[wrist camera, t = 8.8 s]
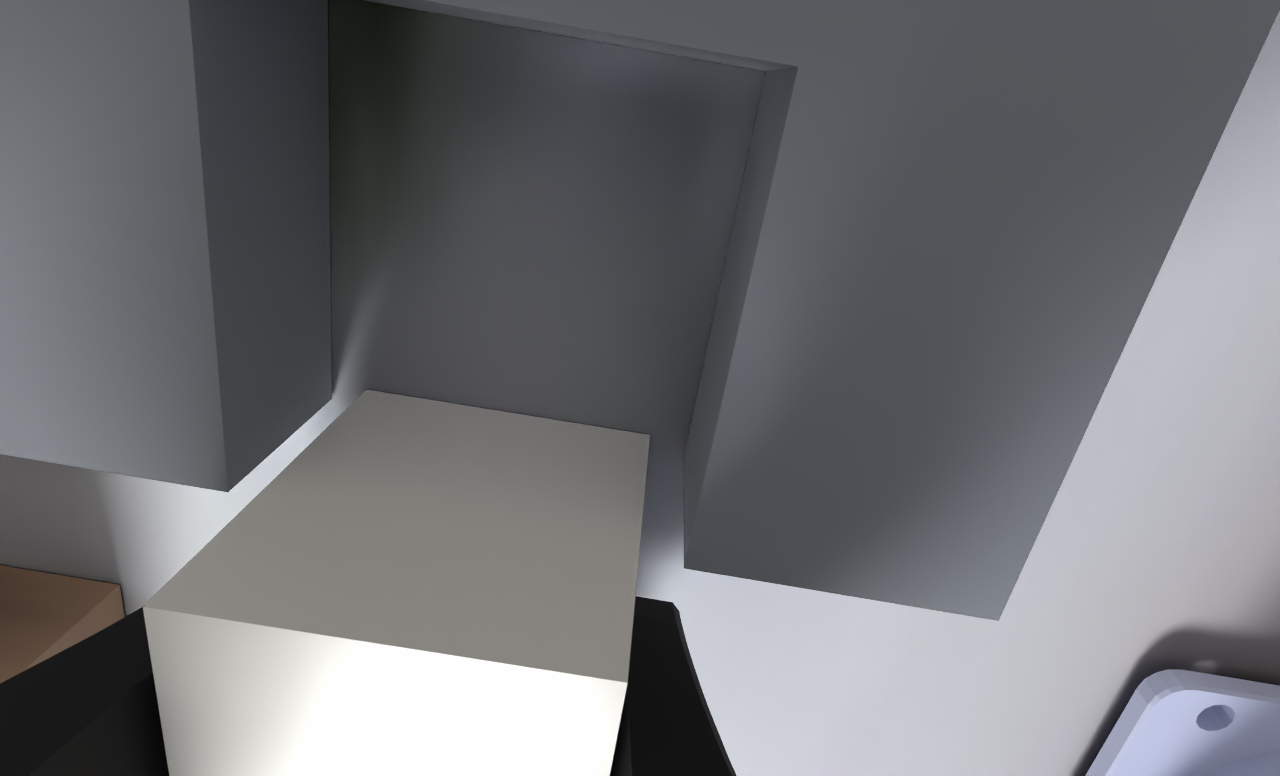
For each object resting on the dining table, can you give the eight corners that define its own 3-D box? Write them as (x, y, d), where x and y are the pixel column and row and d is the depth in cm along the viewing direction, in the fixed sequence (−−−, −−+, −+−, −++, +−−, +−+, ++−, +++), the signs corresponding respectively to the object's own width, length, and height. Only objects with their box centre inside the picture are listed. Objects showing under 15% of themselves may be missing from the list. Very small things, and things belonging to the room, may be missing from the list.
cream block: (366, 389, 10) (142, 607, 6) (650, 435, 10) (627, 683, 6) (366, 637, 12) (194, 939, 8) (607, 676, 12) (567, 995, 8)
